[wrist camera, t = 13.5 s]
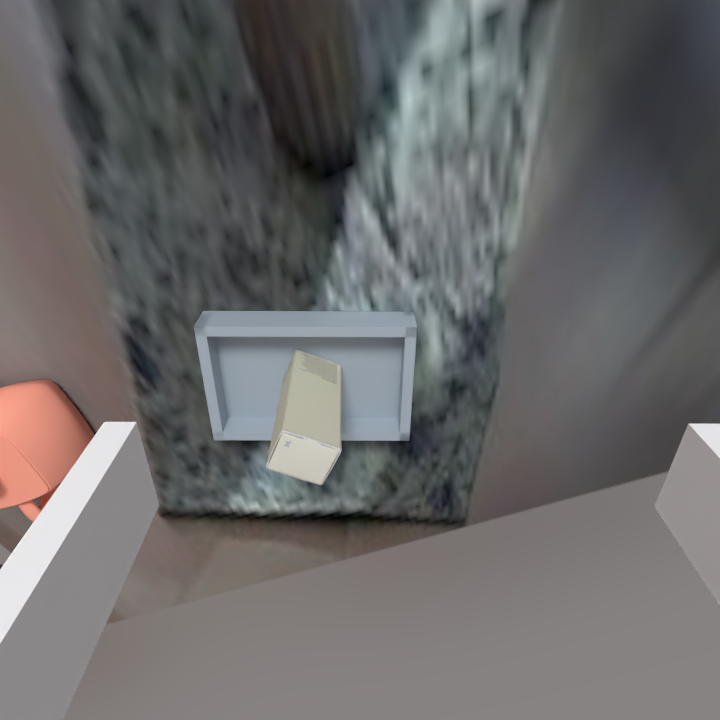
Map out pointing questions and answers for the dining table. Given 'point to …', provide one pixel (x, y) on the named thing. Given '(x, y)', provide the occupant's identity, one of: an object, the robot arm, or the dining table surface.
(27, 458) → the teapot
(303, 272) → the dining table surface
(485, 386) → the dining table surface
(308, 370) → the box
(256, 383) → the bin
